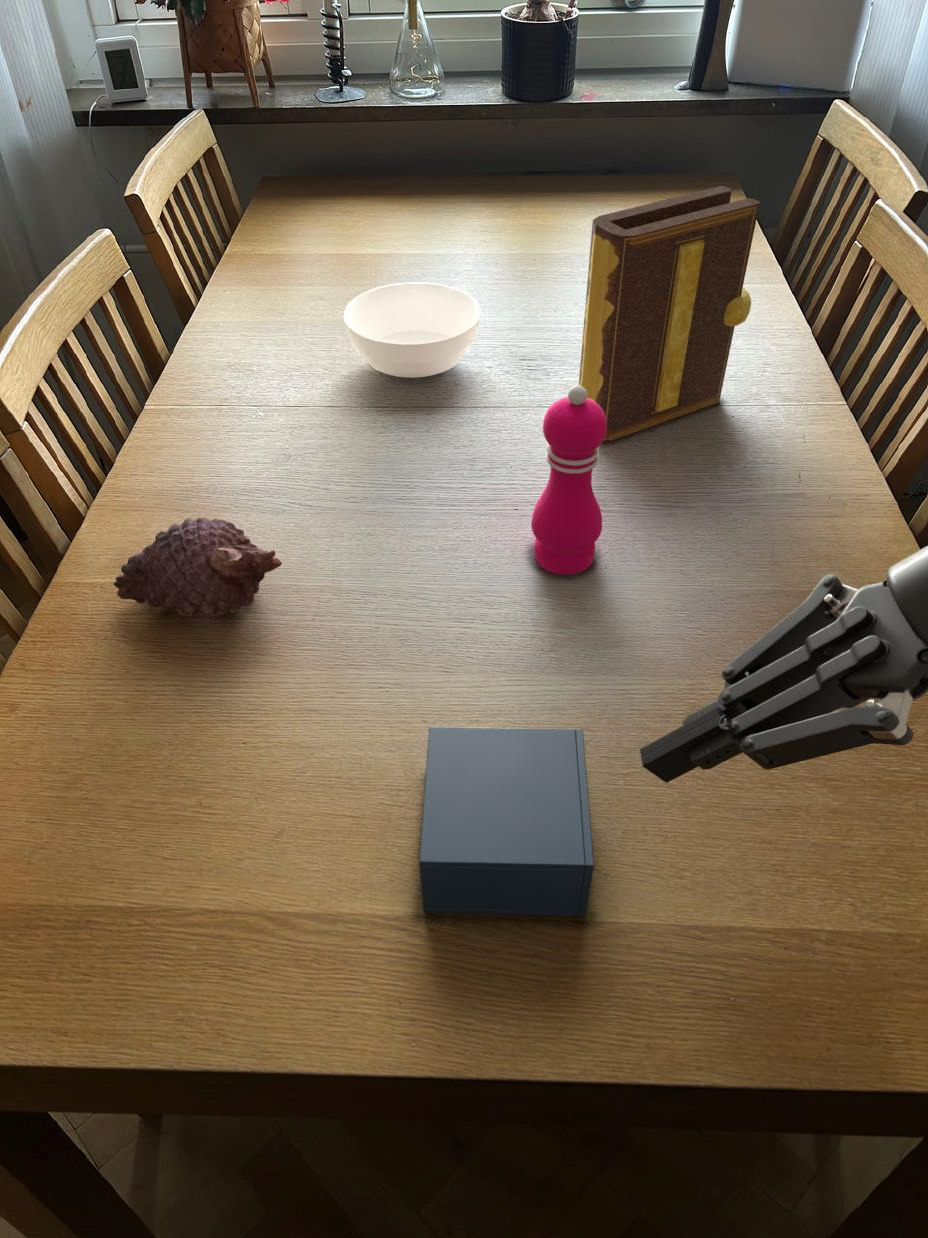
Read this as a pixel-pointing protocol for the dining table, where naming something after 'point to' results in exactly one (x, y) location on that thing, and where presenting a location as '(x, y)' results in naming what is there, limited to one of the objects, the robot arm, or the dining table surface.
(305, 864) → the dining table surface
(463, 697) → the dining table surface
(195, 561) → the pine cone
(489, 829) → the gray box
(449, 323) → the bowl
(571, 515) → the pepper mill
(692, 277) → the book
